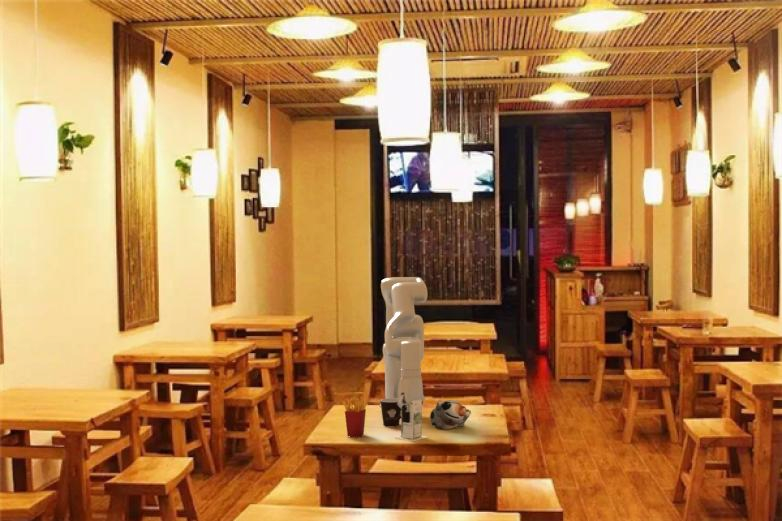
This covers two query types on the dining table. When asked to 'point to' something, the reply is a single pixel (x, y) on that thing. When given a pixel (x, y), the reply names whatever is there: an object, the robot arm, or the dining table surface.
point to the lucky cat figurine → (449, 415)
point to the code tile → (412, 439)
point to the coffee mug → (390, 412)
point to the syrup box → (413, 421)
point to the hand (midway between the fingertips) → (411, 420)
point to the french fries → (355, 417)
